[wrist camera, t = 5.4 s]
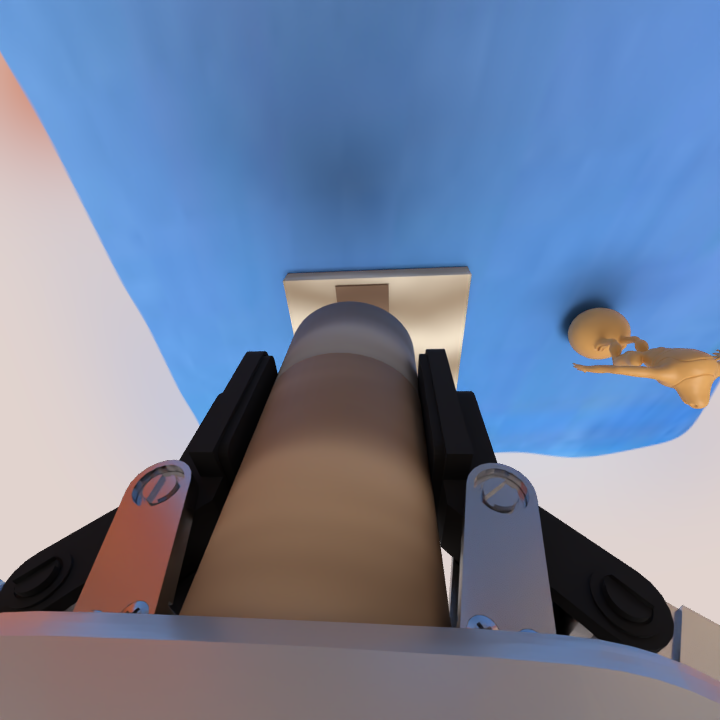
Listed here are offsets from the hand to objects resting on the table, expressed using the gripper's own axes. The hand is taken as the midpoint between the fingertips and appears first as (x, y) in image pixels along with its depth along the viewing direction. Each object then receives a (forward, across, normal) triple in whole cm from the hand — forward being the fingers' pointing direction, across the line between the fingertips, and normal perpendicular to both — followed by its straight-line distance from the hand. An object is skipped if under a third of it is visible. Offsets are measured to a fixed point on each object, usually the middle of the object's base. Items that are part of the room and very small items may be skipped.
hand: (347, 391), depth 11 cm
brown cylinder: (+2, 0, 0) cm, 2 cm away
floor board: (+18, -1, +11) cm, 21 cm away
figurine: (+18, -18, +6) cm, 26 cm away
